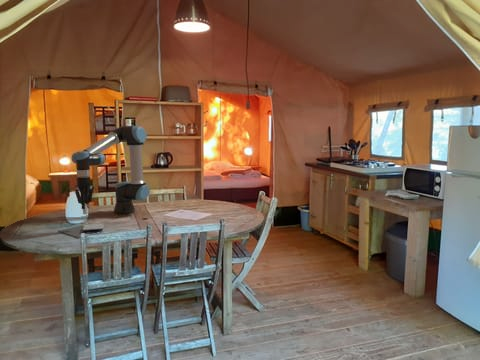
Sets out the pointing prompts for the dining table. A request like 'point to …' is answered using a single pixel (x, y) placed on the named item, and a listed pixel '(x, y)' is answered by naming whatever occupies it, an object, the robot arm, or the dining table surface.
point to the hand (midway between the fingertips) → (85, 213)
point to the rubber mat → (76, 231)
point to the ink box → (93, 227)
